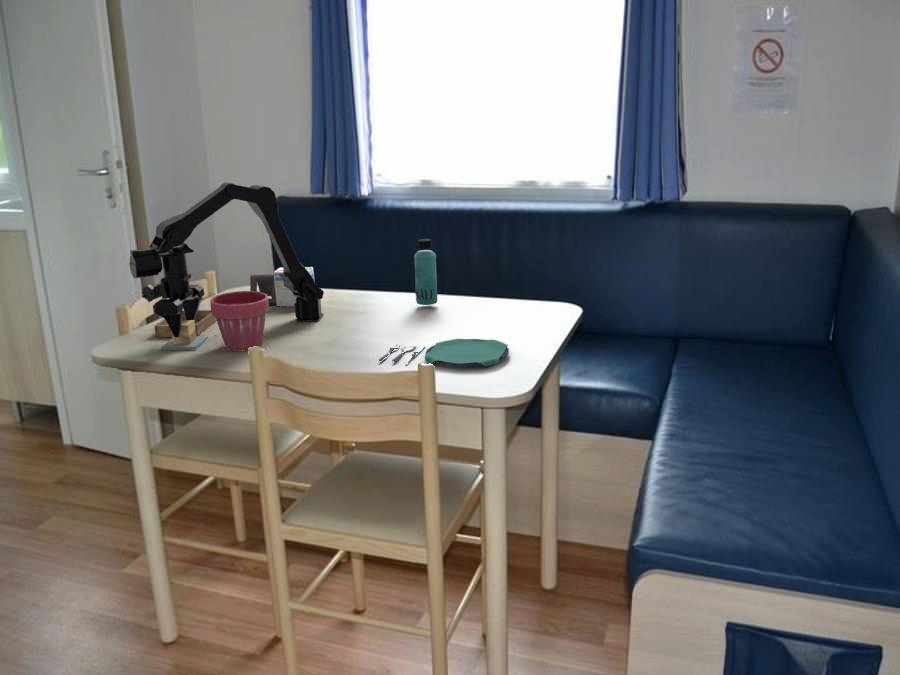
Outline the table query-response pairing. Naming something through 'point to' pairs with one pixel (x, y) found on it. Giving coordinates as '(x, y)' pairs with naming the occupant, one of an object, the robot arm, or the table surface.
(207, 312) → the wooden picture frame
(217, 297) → the plant pot
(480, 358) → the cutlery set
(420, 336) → the table surface
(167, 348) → the slate pad
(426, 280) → the beverage bottle
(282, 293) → the light bulb box
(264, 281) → the portable electronic device stand
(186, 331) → the beech block
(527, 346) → the table surface
